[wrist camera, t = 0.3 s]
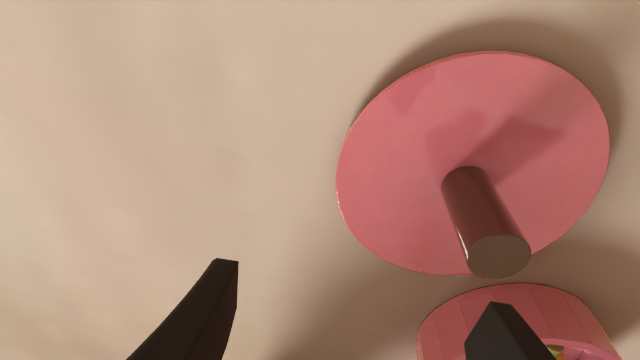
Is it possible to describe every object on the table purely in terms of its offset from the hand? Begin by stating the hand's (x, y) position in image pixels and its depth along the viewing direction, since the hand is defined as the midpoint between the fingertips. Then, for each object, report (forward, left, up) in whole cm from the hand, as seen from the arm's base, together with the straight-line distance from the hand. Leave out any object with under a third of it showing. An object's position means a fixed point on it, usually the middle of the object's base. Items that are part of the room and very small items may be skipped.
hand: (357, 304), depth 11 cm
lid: (-1, -6, -9) cm, 11 cm away
